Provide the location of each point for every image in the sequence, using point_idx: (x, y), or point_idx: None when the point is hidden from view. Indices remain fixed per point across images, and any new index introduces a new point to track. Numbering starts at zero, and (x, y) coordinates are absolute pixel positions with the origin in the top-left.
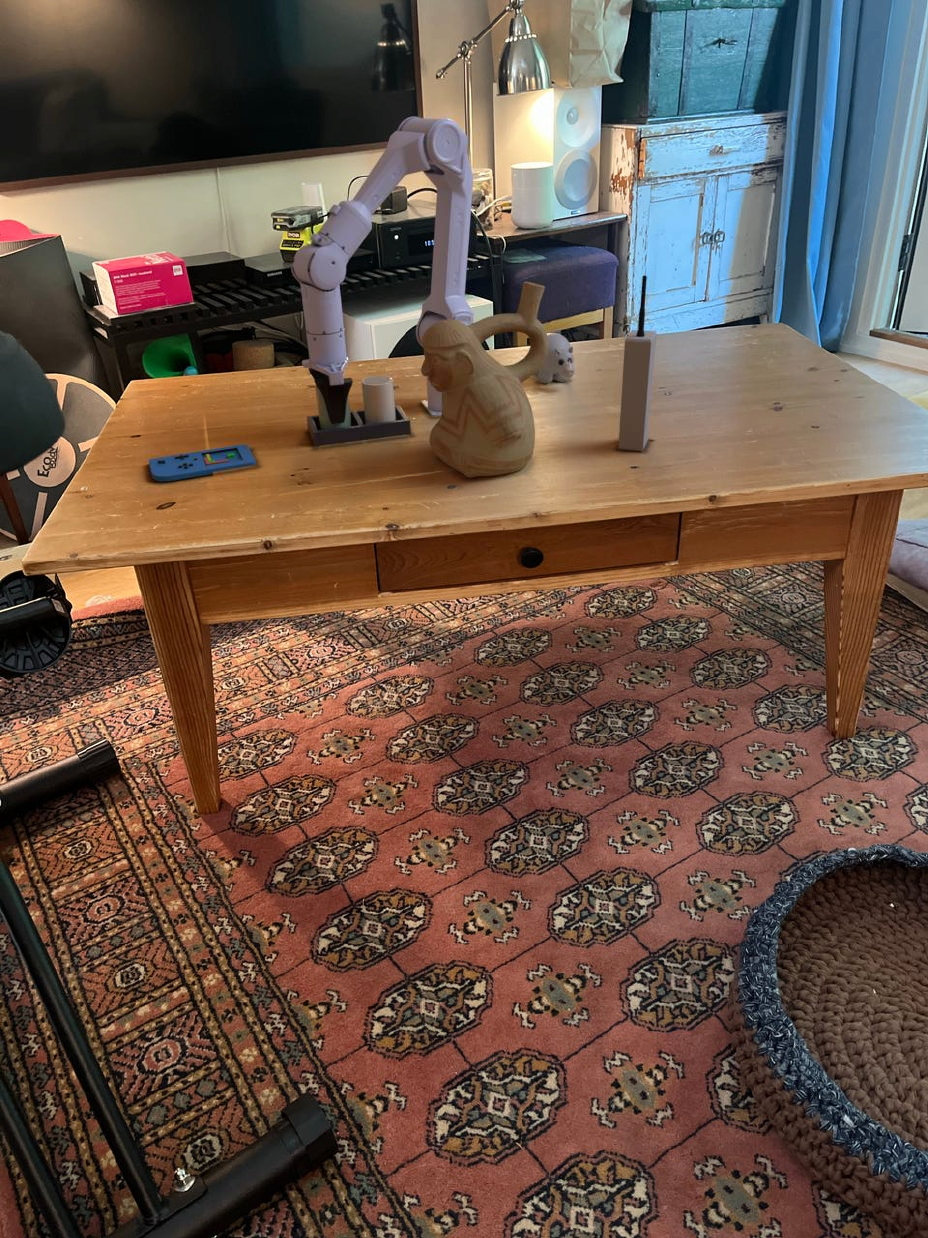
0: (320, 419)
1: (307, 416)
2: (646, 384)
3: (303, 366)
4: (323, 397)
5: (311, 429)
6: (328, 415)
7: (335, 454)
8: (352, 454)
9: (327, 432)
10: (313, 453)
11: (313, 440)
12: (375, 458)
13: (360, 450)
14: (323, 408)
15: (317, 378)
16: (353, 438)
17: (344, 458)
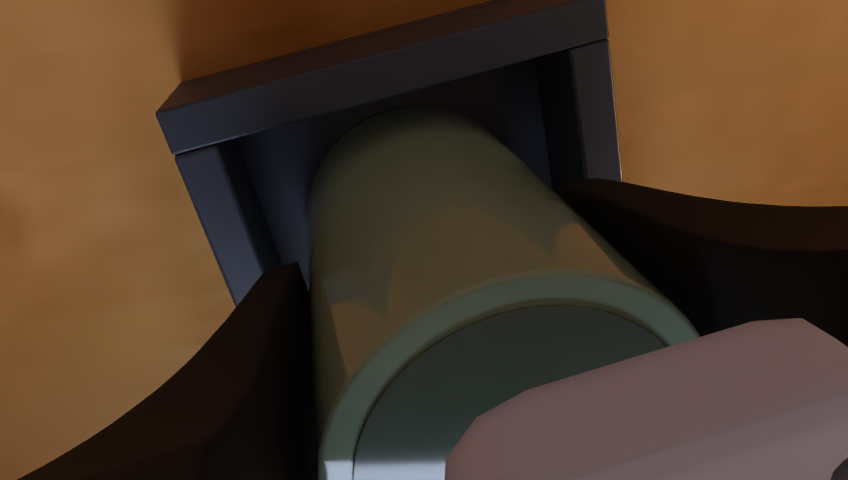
0: (371, 166)
1: (597, 2)
2: None
3: (504, 411)
4: (124, 416)
5: (303, 68)
6: (246, 294)
7: (80, 236)
8: (88, 339)
9: (203, 219)
10: (91, 74)
11: (254, 68)
12: (27, 469)
13: (163, 374)
14: (335, 259)
15: (764, 294)
16: None
17: (7, 302)
